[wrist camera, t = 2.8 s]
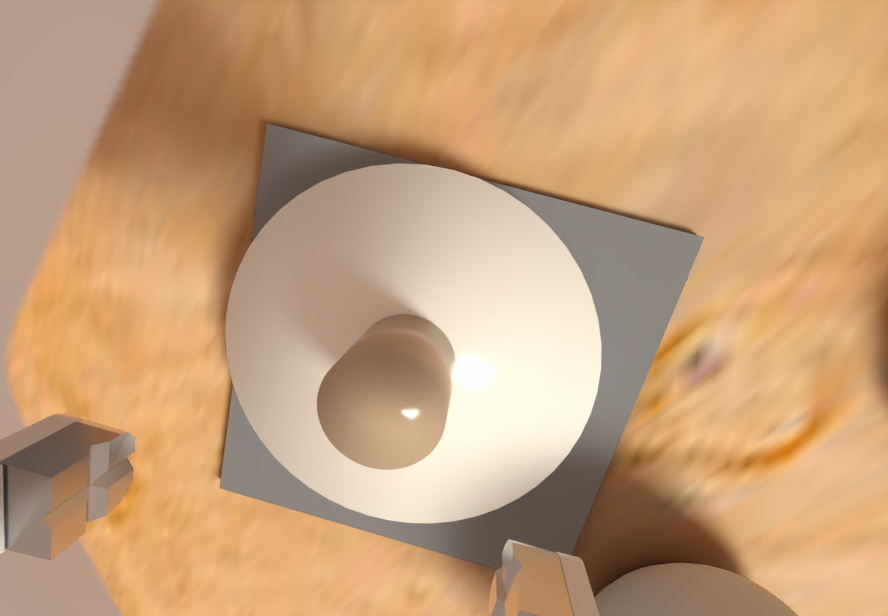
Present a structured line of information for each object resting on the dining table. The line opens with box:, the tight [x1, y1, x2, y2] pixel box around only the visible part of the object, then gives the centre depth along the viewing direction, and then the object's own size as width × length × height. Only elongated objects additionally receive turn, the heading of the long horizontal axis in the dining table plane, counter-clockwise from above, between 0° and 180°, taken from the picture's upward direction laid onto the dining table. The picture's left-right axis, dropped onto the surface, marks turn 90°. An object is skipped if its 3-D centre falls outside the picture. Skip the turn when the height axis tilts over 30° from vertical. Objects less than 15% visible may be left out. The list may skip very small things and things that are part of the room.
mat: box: [220, 123, 704, 570], centre depth 18 cm, size 17×17×1 cm
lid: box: [225, 163, 601, 523], centre depth 15 cm, size 15×15×5 cm
